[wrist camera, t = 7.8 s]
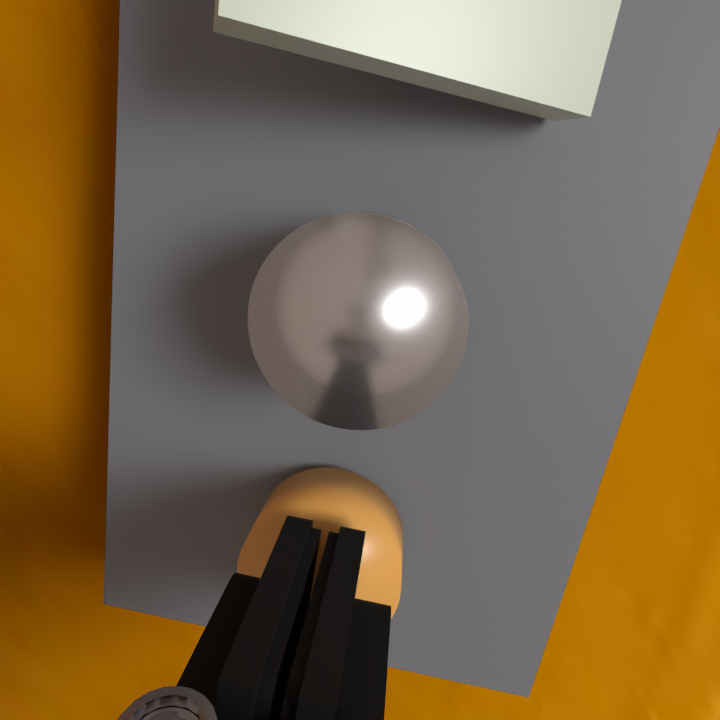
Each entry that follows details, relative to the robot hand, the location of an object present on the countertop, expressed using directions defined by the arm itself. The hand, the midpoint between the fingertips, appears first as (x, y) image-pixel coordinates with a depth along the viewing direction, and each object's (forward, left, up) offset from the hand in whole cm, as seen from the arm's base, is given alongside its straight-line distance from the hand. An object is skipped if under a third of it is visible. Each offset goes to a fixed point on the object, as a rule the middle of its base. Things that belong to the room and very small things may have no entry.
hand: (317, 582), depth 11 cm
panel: (-6, 0, -5) cm, 8 cm away
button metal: (-6, 0, -1) cm, 6 cm away
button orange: (0, 0, -2) cm, 2 cm away
